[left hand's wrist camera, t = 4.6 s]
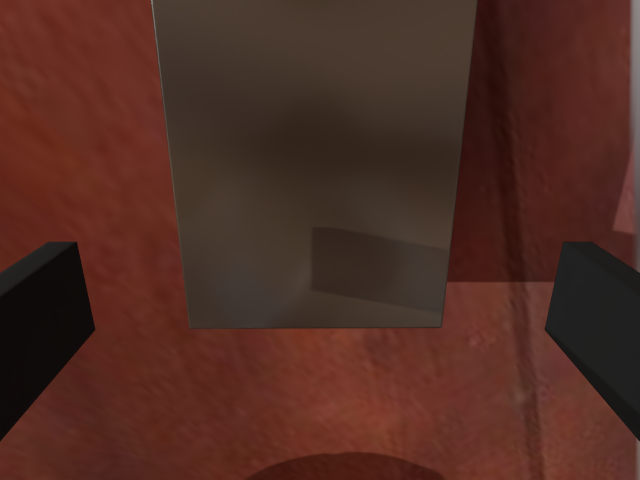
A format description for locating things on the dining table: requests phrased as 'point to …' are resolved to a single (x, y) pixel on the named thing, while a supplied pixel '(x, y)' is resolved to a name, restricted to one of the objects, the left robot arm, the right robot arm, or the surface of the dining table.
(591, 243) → the left robot arm
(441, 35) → the cabinet
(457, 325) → the dining table surface
